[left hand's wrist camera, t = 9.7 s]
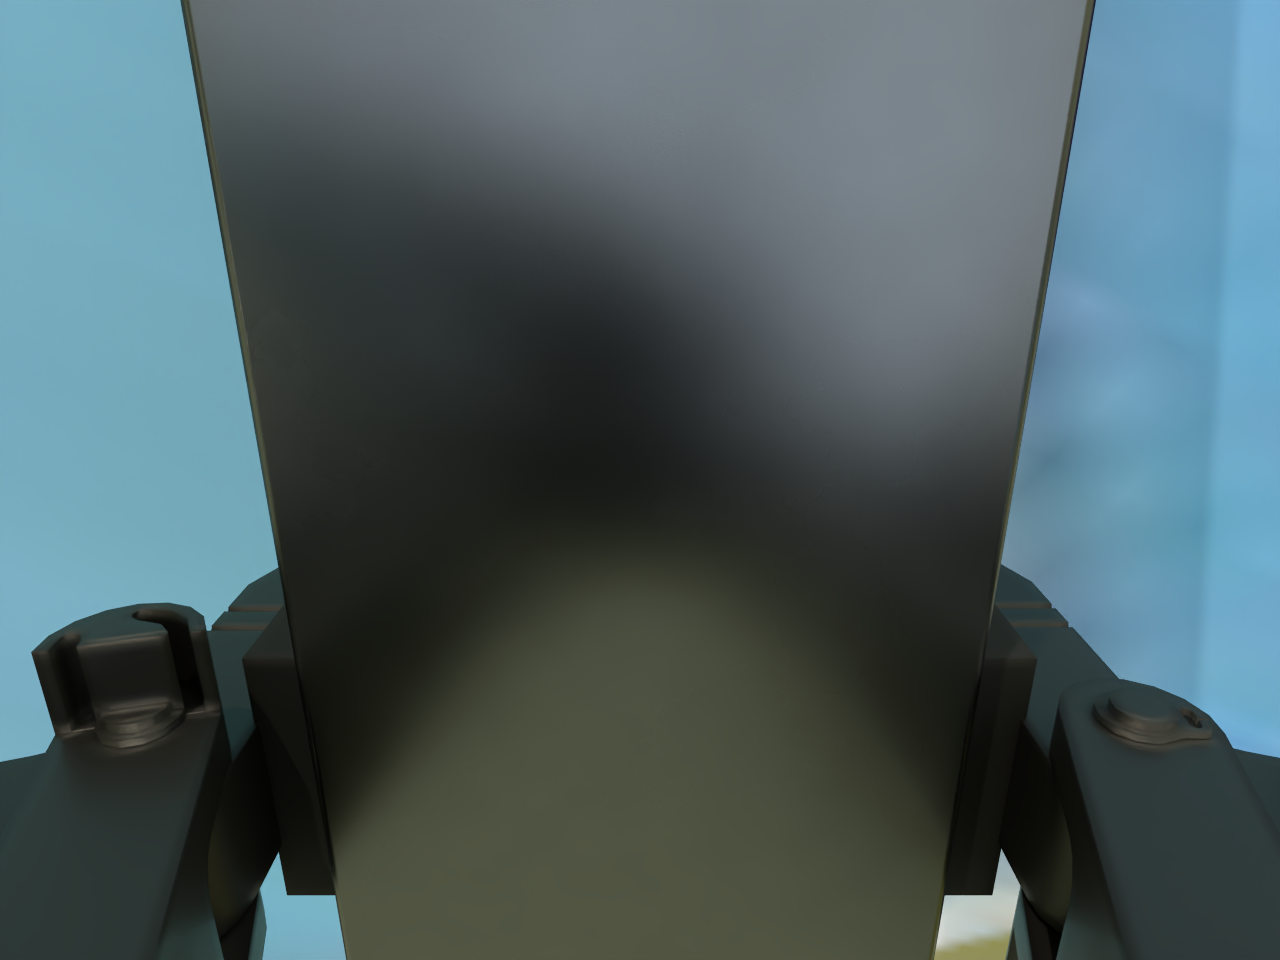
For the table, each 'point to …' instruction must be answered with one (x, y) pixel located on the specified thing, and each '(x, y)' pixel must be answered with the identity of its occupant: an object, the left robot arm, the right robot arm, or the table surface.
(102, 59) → the table surface
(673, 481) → the bar
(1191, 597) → the table surface
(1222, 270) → the table surface
